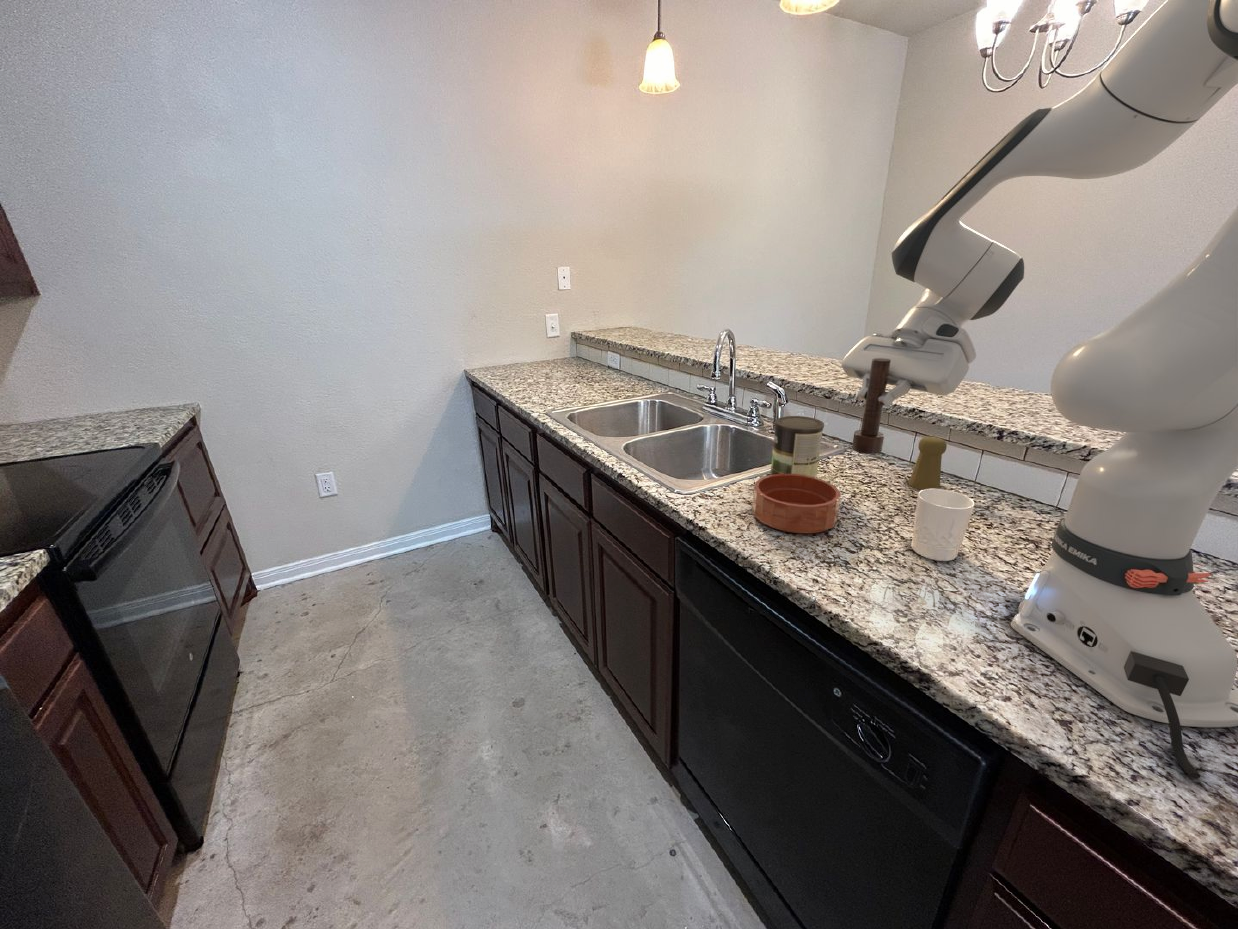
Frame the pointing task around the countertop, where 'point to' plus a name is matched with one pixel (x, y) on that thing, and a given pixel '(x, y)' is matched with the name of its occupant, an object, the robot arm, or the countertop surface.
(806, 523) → the bowl
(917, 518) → the white cup
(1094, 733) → the countertop surface
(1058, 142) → the robot arm
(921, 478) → the pepper grinder
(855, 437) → the muddler
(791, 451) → the coffee can
